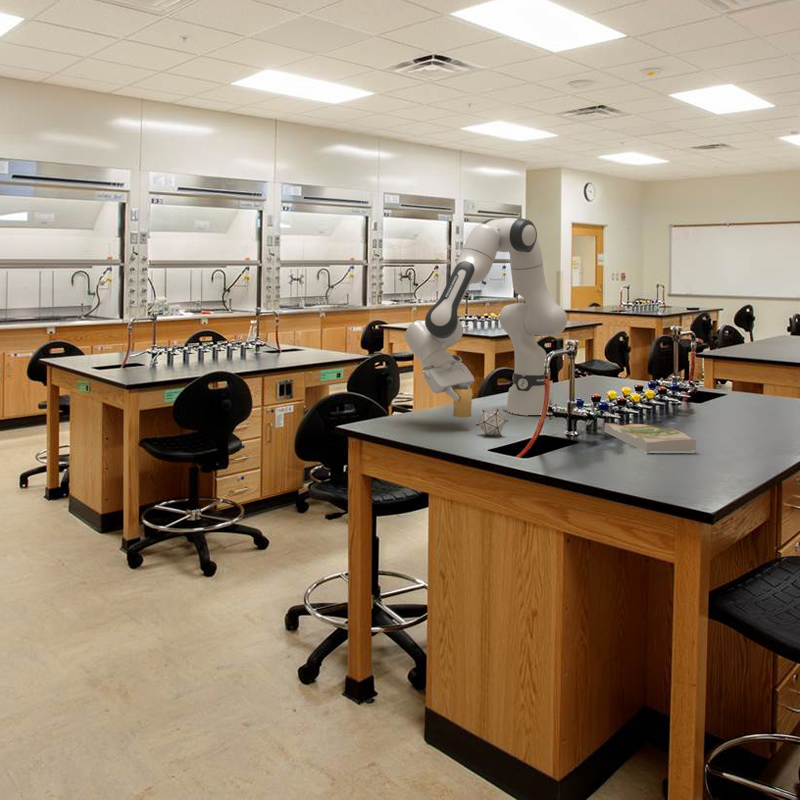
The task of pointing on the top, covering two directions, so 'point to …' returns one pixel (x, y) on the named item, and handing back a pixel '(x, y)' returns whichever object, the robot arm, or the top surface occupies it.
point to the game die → (491, 422)
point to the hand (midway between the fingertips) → (464, 398)
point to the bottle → (463, 401)
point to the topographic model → (651, 437)
